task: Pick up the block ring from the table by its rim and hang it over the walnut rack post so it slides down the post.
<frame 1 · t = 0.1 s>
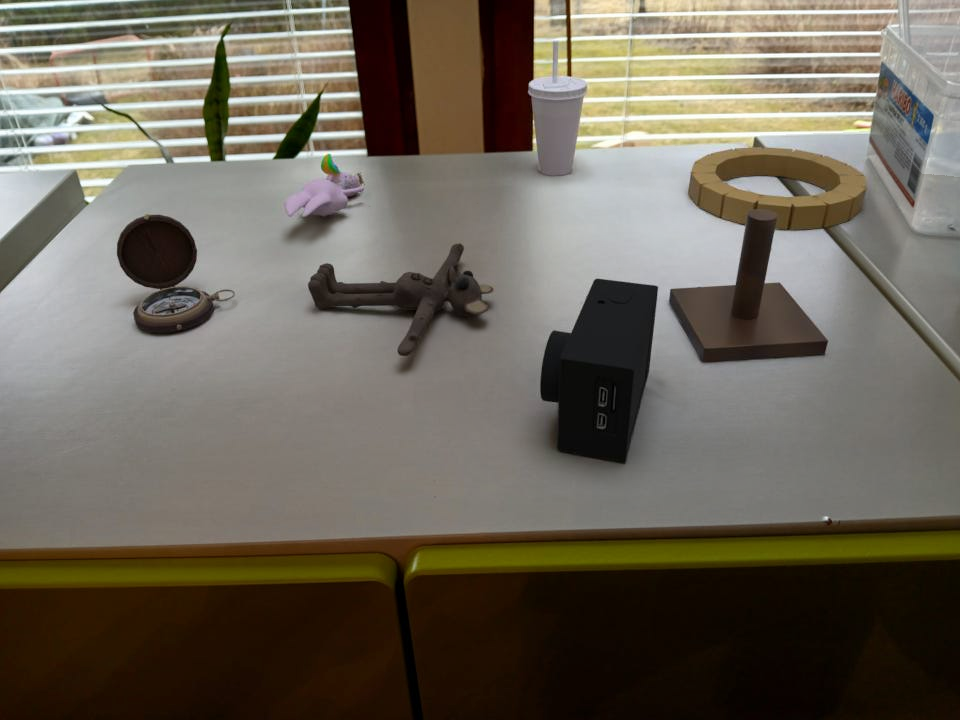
digital camera: (596, 409, 53), on the table
block ring: (772, 196, 82), on the table
compass: (187, 311, 66), on the table
smoothie: (555, 171, 90), on the table
rabbit figure: (328, 214, 82), on the table
rack: (742, 326, 61), on the table
bear figurine: (404, 310, 65), on the table
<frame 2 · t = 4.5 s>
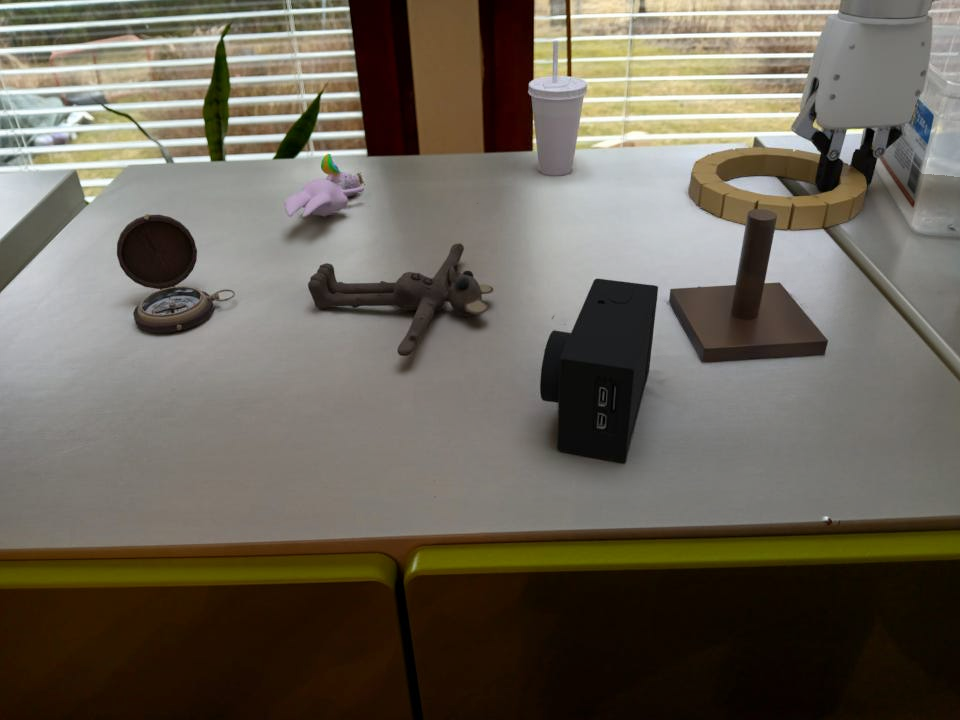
hand: (840, 190, 82), 0 cm above the table, tool pointing down, fingers closed on block ring, 2 cm apart
block ring: (773, 196, 82), on the table, touching gripper
everything else where it was.
when the fingers open (5 cm above the table, at t = 12.3 s): block ring drops 3 cm, resting on rack.
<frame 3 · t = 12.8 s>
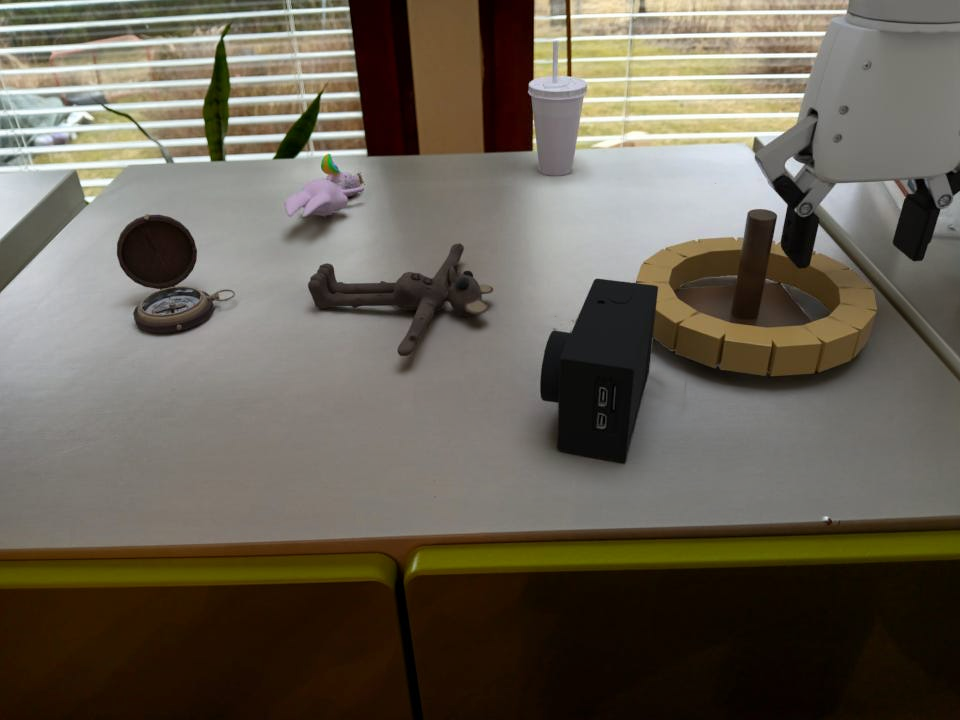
hand: (851, 255, 58), 6 cm above the table, tool pointing down, fingers open, 7 cm apart
block ring: (747, 313, 60), point 1 cm above the table, touching rack
everything else where it was.
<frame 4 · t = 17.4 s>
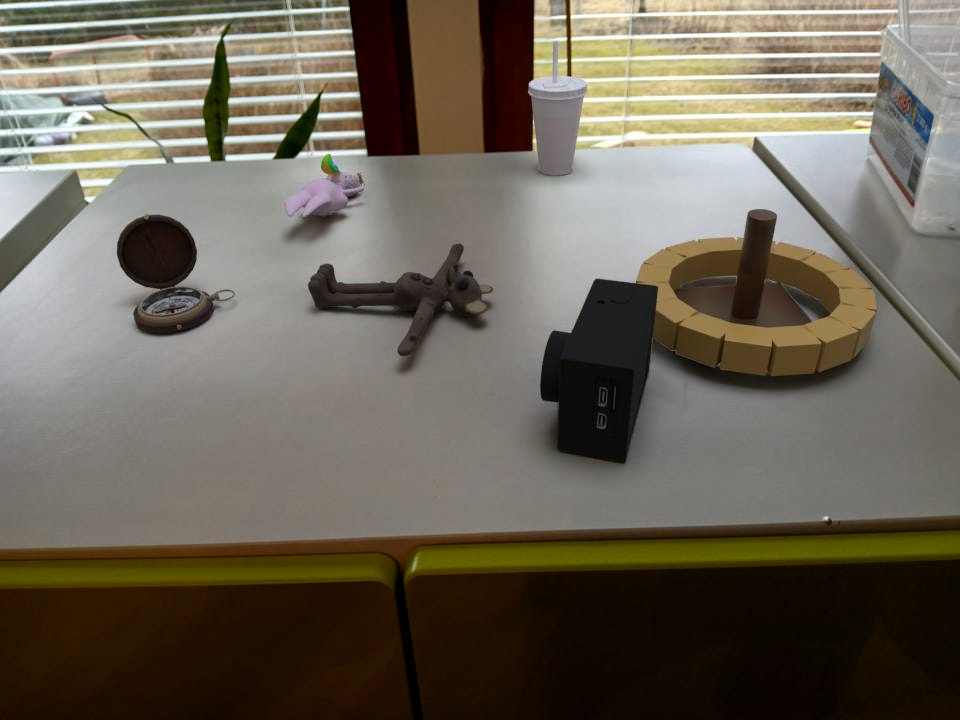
nothing on the table moved.
at the end: block ring 0.2 cm from the rack (horizontally); block ring point 1.2 cm above the table; the gripper is holding nothing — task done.
